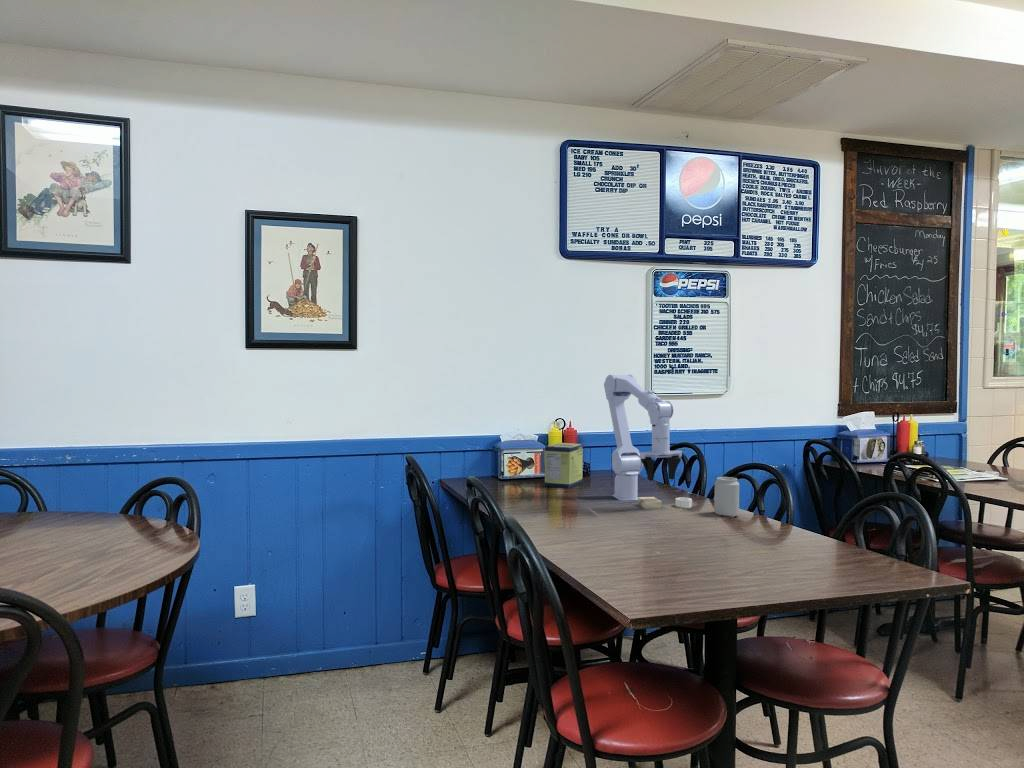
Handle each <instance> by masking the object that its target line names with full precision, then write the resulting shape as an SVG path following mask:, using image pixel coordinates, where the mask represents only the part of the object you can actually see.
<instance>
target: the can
mask: <svg viewBox="0 0 1024 768" xmlns="http://www.w3.org/2000/svg"><path fill="white" fill-rule="evenodd" d="M716 479H717V480H715V482H714V499H713V500H714V504H713V505H714V506H713V507H714V509H713V510H714V514H716V515H717V516H718V515H719V516H725V517H732V518H735V516H736V517H737V516H738V515H739V514H740V483H739V481H738V478H737V477H732V476H730V477H729V476H719V477H716Z"/></svg>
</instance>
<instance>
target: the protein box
mask: <svg viewBox="0 0 1024 768" xmlns="http://www.w3.org/2000/svg"><path fill="white" fill-rule="evenodd" d="M583 445H584V444H583V443H569V442H556V443H553V444H550V445H545V446H544V487H548V486H551V488H561V489H562V488H564V489H571V488H573V487H575V486H577V484H578V485H580V484H582V483H583V471H584V470H583V467H584V466H583V460H584V459H583V457H584V455H583V453H584V452H583V450H584V447H583ZM581 482H582V483H581ZM579 483H580V484H579ZM570 487H571V488H570Z"/></svg>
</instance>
